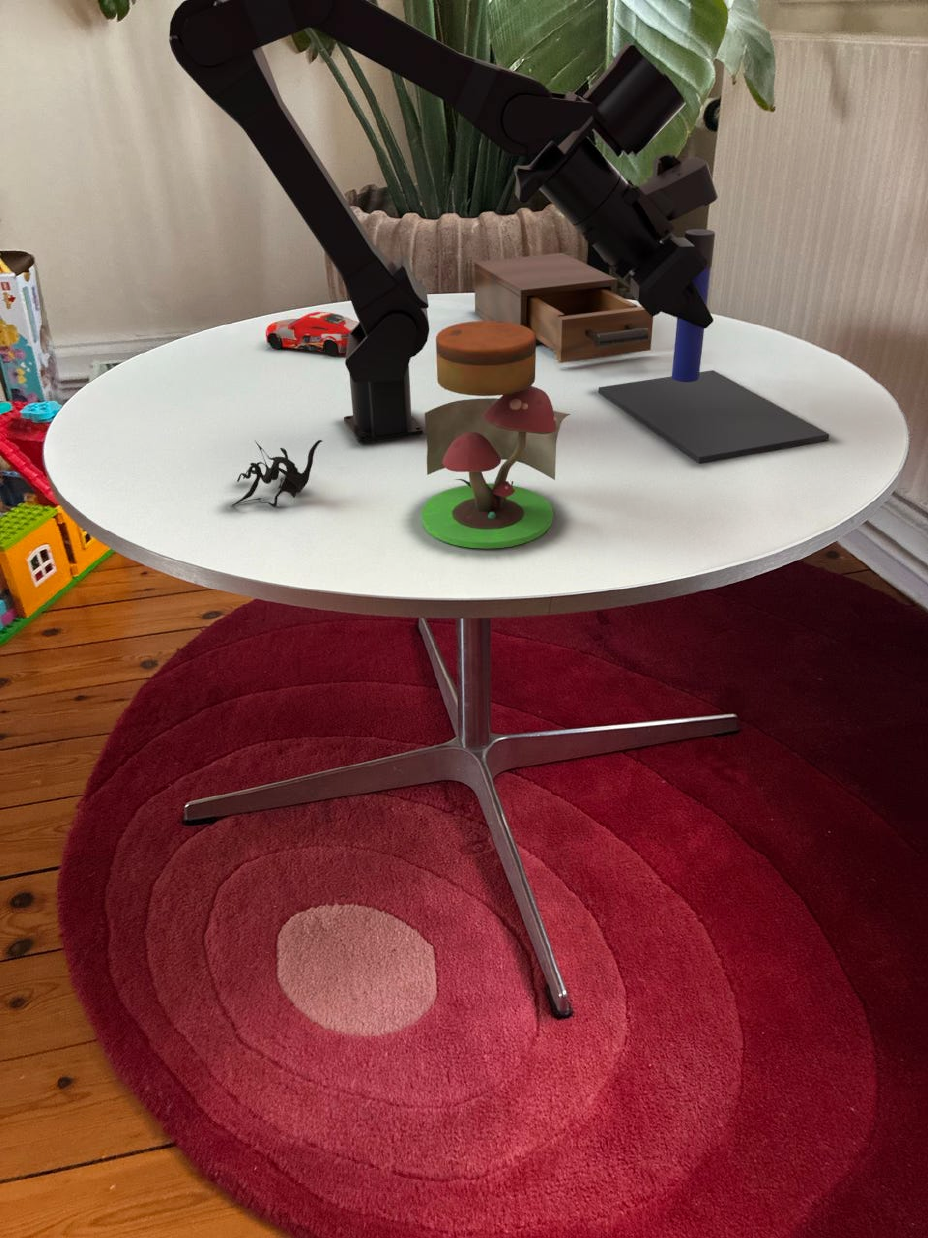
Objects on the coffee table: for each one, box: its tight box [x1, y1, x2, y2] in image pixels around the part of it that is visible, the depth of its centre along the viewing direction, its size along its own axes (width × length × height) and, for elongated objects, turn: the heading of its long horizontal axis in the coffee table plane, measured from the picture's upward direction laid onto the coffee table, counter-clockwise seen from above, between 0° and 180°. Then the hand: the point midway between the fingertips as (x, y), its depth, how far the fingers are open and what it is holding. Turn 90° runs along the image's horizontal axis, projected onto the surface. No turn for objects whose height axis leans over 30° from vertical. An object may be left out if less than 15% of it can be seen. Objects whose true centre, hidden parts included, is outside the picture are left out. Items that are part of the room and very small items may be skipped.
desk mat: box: [597, 369, 830, 464], centre depth 97 cm, size 20×14×1 cm
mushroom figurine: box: [421, 320, 571, 549], centre depth 75 cm, size 12×13×15 cm
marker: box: [671, 228, 716, 382], centre depth 91 cm, size 3×3×14 cm
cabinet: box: [473, 252, 618, 345], centre depth 123 cm, size 16×13×7 cm
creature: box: [230, 439, 324, 508], centre depth 82 cm, size 8×5×8 cm
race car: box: [265, 311, 359, 357], centre depth 117 cm, size 13×5×4 cm, turn 65°
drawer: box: [526, 287, 654, 364], centre depth 113 cm, size 18×11×5 cm, turn 20°
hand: (705, 320), depth 92 cm, fingers closed on marker, 2 cm apart
